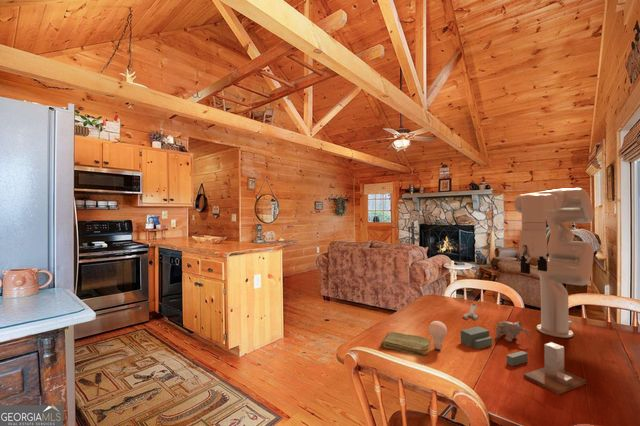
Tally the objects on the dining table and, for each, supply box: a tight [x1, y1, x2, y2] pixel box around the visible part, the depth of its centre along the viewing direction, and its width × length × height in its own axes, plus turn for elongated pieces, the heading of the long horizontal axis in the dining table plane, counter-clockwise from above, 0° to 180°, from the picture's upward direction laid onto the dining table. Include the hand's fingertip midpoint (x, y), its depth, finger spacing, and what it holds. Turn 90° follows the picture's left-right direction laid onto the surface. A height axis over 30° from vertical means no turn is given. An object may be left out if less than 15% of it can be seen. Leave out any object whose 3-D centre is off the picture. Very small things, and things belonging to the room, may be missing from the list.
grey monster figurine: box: [495, 320, 531, 343], centre depth 125 cm, size 9×12×8 cm
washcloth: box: [380, 331, 431, 356], centre depth 121 cm, size 13×18×3 cm
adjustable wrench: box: [463, 303, 479, 321], centre depth 158 cm, size 25×6×2 cm, turn 144°
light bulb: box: [428, 320, 448, 350], centre depth 117 cm, size 7×7×11 cm
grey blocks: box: [460, 325, 529, 367], centre depth 115 cm, size 10×21×5 cm, turn 22°
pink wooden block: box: [543, 341, 573, 385], centre depth 94 cm, size 4×6×10 cm, turn 22°
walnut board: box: [523, 366, 588, 395], centre depth 95 cm, size 14×10×1 cm
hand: (534, 272), depth 114 cm, fingers open, 9 cm apart
